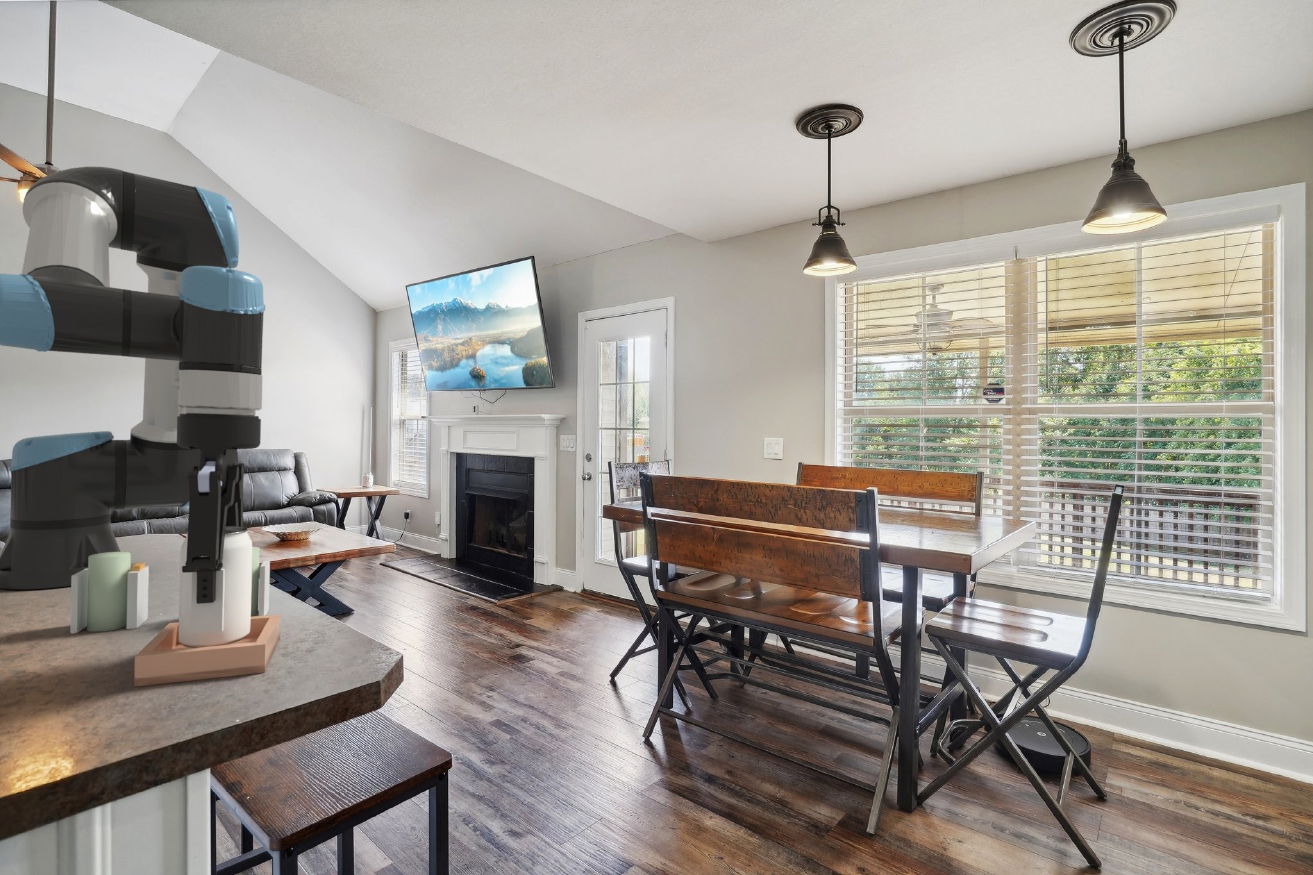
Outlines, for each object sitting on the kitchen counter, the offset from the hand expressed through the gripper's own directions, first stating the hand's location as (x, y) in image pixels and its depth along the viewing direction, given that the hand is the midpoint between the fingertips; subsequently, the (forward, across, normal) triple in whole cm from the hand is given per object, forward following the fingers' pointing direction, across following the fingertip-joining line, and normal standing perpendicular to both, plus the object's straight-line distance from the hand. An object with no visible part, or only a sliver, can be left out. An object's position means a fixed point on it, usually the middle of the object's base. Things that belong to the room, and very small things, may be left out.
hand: (215, 621), depth 69 cm
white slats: (+4, -17, -8) cm, 19 cm away
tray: (+4, 0, 0) cm, 4 cm away
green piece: (+4, -17, -1) cm, 18 cm away
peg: (+4, -17, -15) cm, 23 cm away
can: (+2, 0, 0) cm, 2 cm away
